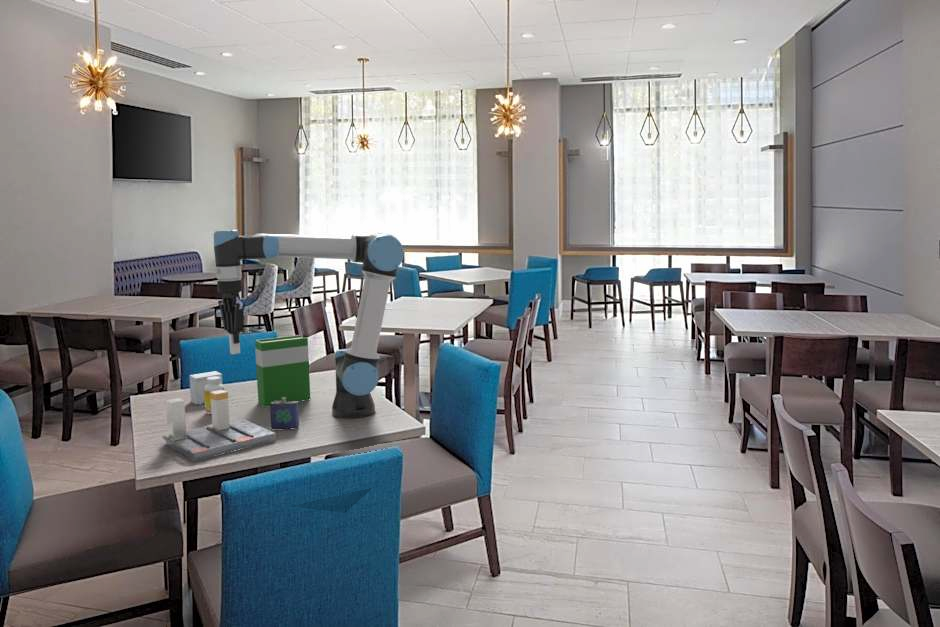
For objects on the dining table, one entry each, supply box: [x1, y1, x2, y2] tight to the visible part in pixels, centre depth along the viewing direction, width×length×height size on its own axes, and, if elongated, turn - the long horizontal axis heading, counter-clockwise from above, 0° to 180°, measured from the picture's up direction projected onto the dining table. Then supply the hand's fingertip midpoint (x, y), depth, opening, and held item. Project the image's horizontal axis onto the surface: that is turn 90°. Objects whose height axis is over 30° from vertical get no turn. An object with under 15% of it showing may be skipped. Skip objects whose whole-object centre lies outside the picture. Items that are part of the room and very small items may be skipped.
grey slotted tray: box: [162, 397, 277, 462], centre depth 229 cm, size 23×27×15 cm
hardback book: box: [254, 334, 311, 408], centre depth 275 cm, size 18×7×24 cm, turn 124°
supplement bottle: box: [204, 376, 225, 415], centre depth 262 cm, size 7×7×13 cm
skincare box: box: [188, 370, 224, 405], centre depth 278 cm, size 10×6×10 cm, turn 131°
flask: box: [269, 397, 300, 430], centre depth 243 cm, size 9×3×11 cm, turn 95°
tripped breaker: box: [210, 389, 230, 431], centre depth 235 cm, size 4×4×12 cm
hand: (235, 353), depth 233 cm, fingers closed
